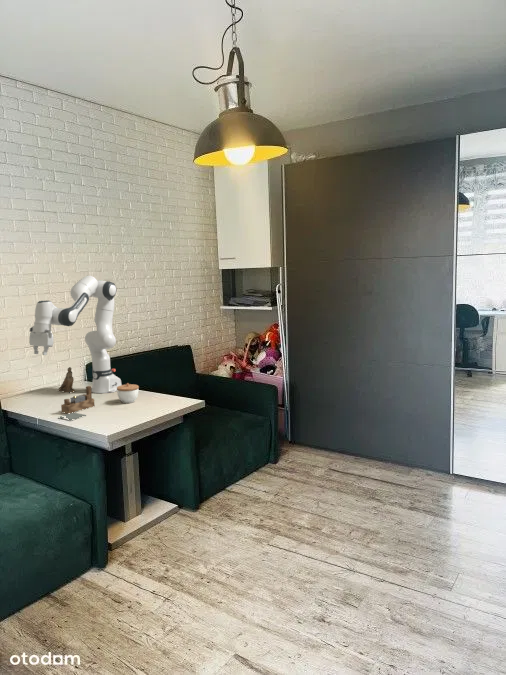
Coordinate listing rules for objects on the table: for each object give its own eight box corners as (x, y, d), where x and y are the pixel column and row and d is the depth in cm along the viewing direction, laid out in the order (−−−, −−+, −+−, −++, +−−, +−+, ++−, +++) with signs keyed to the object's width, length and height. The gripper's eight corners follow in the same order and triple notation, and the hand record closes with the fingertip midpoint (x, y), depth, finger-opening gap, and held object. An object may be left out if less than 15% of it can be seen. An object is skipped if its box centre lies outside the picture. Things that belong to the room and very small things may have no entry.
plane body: (87, 404, 289) (86, 385, 288) (94, 406, 286) (93, 386, 285) (61, 412, 274) (60, 392, 272) (69, 414, 271) (67, 393, 269)
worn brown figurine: (75, 395, 322) (78, 369, 318) (68, 397, 318) (71, 370, 314) (64, 389, 328) (66, 363, 324) (57, 391, 324) (59, 365, 320)
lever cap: (80, 399, 284) (80, 393, 283) (85, 400, 282) (84, 394, 281) (70, 402, 278) (70, 396, 277) (75, 403, 276) (75, 397, 275)
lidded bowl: (123, 398, 304) (122, 380, 302) (142, 399, 301) (141, 381, 299) (113, 403, 291) (112, 385, 290) (133, 404, 289) (132, 386, 287)
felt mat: (73, 413, 272) (73, 412, 272) (86, 416, 267) (86, 414, 267) (58, 418, 264) (58, 417, 264) (71, 420, 259) (70, 419, 259)
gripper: (57, 330, 269) (55, 355, 268) (39, 329, 282) (37, 353, 281) (46, 329, 264) (44, 355, 263) (28, 328, 277) (26, 353, 277)
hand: (40, 354), depth 273 cm, fingers open, 8 cm apart
